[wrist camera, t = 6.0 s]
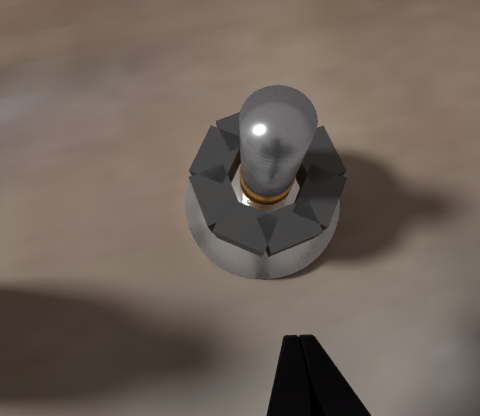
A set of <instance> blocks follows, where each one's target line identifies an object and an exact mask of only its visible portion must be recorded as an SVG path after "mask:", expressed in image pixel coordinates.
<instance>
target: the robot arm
mask: <svg viewBox="0 0 480 416" xmlns="http://www.w3.org/2000/svg"><path fill="white" fill-rule="evenodd" d="M267 416H371V414H370V413H369V412H368V410H367V409H366V407H365V406H364V405H363V403H362V402H361V400H360V399H359V398H358V396H357V395H356V393H355V392H354V391H353V389H352V388H351V386H350V385H349V384H348V382H347V381H346V379H345V378H344V377H343V375H342V374H341V372H340V371H339V370H338V368H337V367H336V365H335V364H334V363H333V361H332V360H331V358H330V357H329V356H328V354H327V353H326V351H325V350H324V349H323V347H322V346H321V345H320V343H319V342H318V340H317V339H316V338H315V336H313V335H300V336H299V337H298V336H297V335H285V336H284V337H283V341H282V346H281V351H280V355H279V360H278V365H277V369H276V374H275V379H274V383H273V388H272V393H271V397H270V402H269V407H268V411H267Z"/></svg>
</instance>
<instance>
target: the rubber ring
mask: <svg viewBox="0 0 480 416" xmlns="http://www.w3.org/2000/svg"><path fill="white" fill-rule="evenodd" d="M239 115H240V112H239V113H236V114H233V115H231V116H228V117H225V118H223V119H220V120H217V121H216V124H217V128H216V127H214V126H210V128H209V130H208V133H207V135H206V137H205V139H204V141H203V143H202V145H201V147H200V149H199V151H198V153H197V155H196V157H195V159H194V161H193V163H192V165H191V167H190V169H189V171H190V173H191V175H192V176H190V177H189V179H190V182H191V185H192V187H193V190H194V192H195V195H196V198H197V200H198V203H199V206H200V208H201V211H202V213H203V216H204V219H205V221H206V224H207V226H208V228H209V229H210V231H211V232H212V233H214V235H215V236H216V238H218V239H221V240H223V241H225V242H228V243H230V244H232V245H235V246H237V247H239V248H242V249H244V250H246V251H249V252H251V253H253V254H256V255H258V256H260V257H262V256H263V255H264V253H265V250H266V253H267V255H268V257H270V256H273V255H275V254H277V253H280V252H282V251H285V250H287V249H290V248H292V247H295V246H297V245H299V244H302V243H304V242H307V241H309V240H312V239H314V238H315V237H317V236H319V235H320V234H322V233H323V231H324V230H325V229H327V228H328V227H329V225H330V222H331V220H332V217H333V214H334V211H335V209H336V206H337V203H338V201H339V198H340V195H341V193H342V190H343V187H344V184H345V182H346V179H347V178H346V177H343V176H342V175H343V174H344V173H345V172H346V169H345V167H344V165H343V163H342V162H341V160H340V158H339V156H338V154H337V152H336V150H335V148H334V146H333V144H332V142H331V140H330V138H329V136H328V134H327V132H326V130H325V128H324V126H321V127H318V128H317V129H316V133H315V135H314V137H313V139H312V141H311V144H310V146H309V148H308V150H307V152H306V154H305V156H304V159H303V161H302V163H301V165H300V167H299V169H298V171H297V173H296V181H297V183H298V185H299V187H300V189H299V191H298V194H297V196H296V199H295V201H294V203H293V204H290V205H288V206H285V207H283V208H280V209H278V210H275V211H272V212H270V213H265V212H263V211H261V210H258V209H256V208H253V207H251V206H248V205H246V204H243V203H241V202H239V201H238V199H237V196H236V194H235V192H234V189H233V187H232V184H231V183H232V181H233V179H234V177H235V174H236V172H237V170H238V168H239V165H240V164H241V153H240V129H239ZM317 123H318V121H317Z"/></svg>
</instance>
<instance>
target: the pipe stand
mask: <svg viewBox="0 0 480 416" xmlns="http://www.w3.org/2000/svg"><path fill="white" fill-rule="evenodd" d="M239 129H240V153H241V164H240V165H239V168H238V170H237V172H236V174H235V177H234V179H233V181H232V183H231V184H232V187H233V189H234V192H235V194H236V196H237V199H238V201H239V202H241V203H243V204H246V205H248V206H251V207H253V208H256V209H258V210H261V211H263V212H265V213H270V212H272V211H275V210H278V209H280V208H283V207H285V206H288V205H290V204H293V203H294V201H295V199H296V196H297V194H298V191H299V189H300V187H299V185H298V183H297V181H296V173H297V171H298V169H299V167H300V165H301V163H302V161H303V159H304V156H305V154H306V152H307V150H308V148H309V146H310V144H311V141H312V139H313V137H314V135H315V133H316V129H317V114H316V110H315V108H314V106H313V104H312V102H311V101H310V100H309V99H308V98H307V97H306V96H305V95H304V94H303V93H301V92H300V91H298V90H296V89H294V88H291V87H288V86H282V85H273V86H267V87H264V88H261V89H259V90H257V91H256V92H254V93H253V94H252V95H250V96H249V97H248V98H247V100H246V101H245V102H244V104H243V106H242V108H241V111H240V115H239ZM191 176H192V175H191ZM185 210H186V217H187V221H188V225H189V228H190V231H191V233H192V235H193V237H194V239H195V241H196V242H197V244H198V246H199V247H200V248H201V250H202V251H203V252H204V253H205V254H206V255H207V256H208V257H209V258H210V259H211V260H212V261H213V262H214V263H216V264H217V265H219V266H220V267H222V268H223V269H225V270H227V271H229V272H231V273H233V274H236V275H239V276H242V277H246V278H251V279H275V278H280V277H284V276H287V275H290V274H293V273H295V272H297V271H299V270H301V269H303V268H305V267H306V266H308V265H309V264H311V263H312V262H313V261H314V260H315V259H316V258H318V257H319V256H320V255H321V253H322V252H323V251H324V250H325V249H326V247H327V246H328V244H329V242H330V241H331V239H332V237H333V235H334V232H335V230H336V227H337V223H338V219H339V212H340V199H339V201H338V203H337V206H336V209H335V211H334V214H333V217H332V220H331V222H330V225H329V227H328V228H327V229H325V230H324V231H323V233H322V234H320V235H319V236H317V237H315V238H314V239H312V240H309V241H307V242H304V243H302V244H299V245H297V246H295V247H292V248H290V249H287V250H285V251H282V252H280V253H277V254H275V255H273V256H270V257H268V255H267V253H266V250H265V253H264V255H263V256H262V257H260V256H258V255H256V254H253V253H251V252H249V251H246V250H244V249H242V248H239V247H237V246H235V245H232V244H230V243H228V242H225V241H223V240H221V239H218V238H216V236H215V235H214V233H212V232H211V231H210V229H209V228H208V226H207V224H206V221H205V219H204V216H203V213H202V211H201V208H200V206H199V203H198V200H197V198H196V195H195V192H194V190H193V187H192V185H191V182H190V179H189V182H188V186H187V190H186V198H185Z"/></svg>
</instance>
